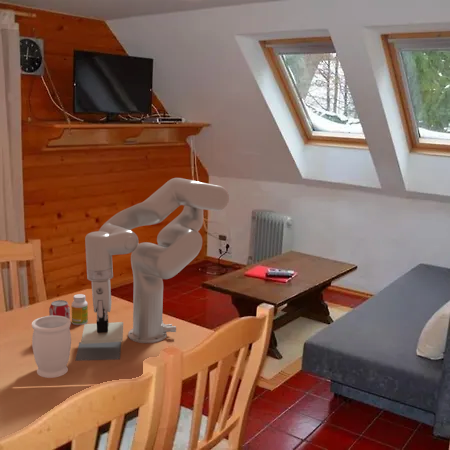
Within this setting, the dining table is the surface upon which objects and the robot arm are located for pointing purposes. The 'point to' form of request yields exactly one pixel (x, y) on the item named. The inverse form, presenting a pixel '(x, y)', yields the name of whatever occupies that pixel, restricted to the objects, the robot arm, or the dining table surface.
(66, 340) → the jar
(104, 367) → the dining table surface
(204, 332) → the dining table surface
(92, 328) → the lid
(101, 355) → the mat
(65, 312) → the beverage can
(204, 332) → the dining table surface
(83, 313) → the supplement bottle
